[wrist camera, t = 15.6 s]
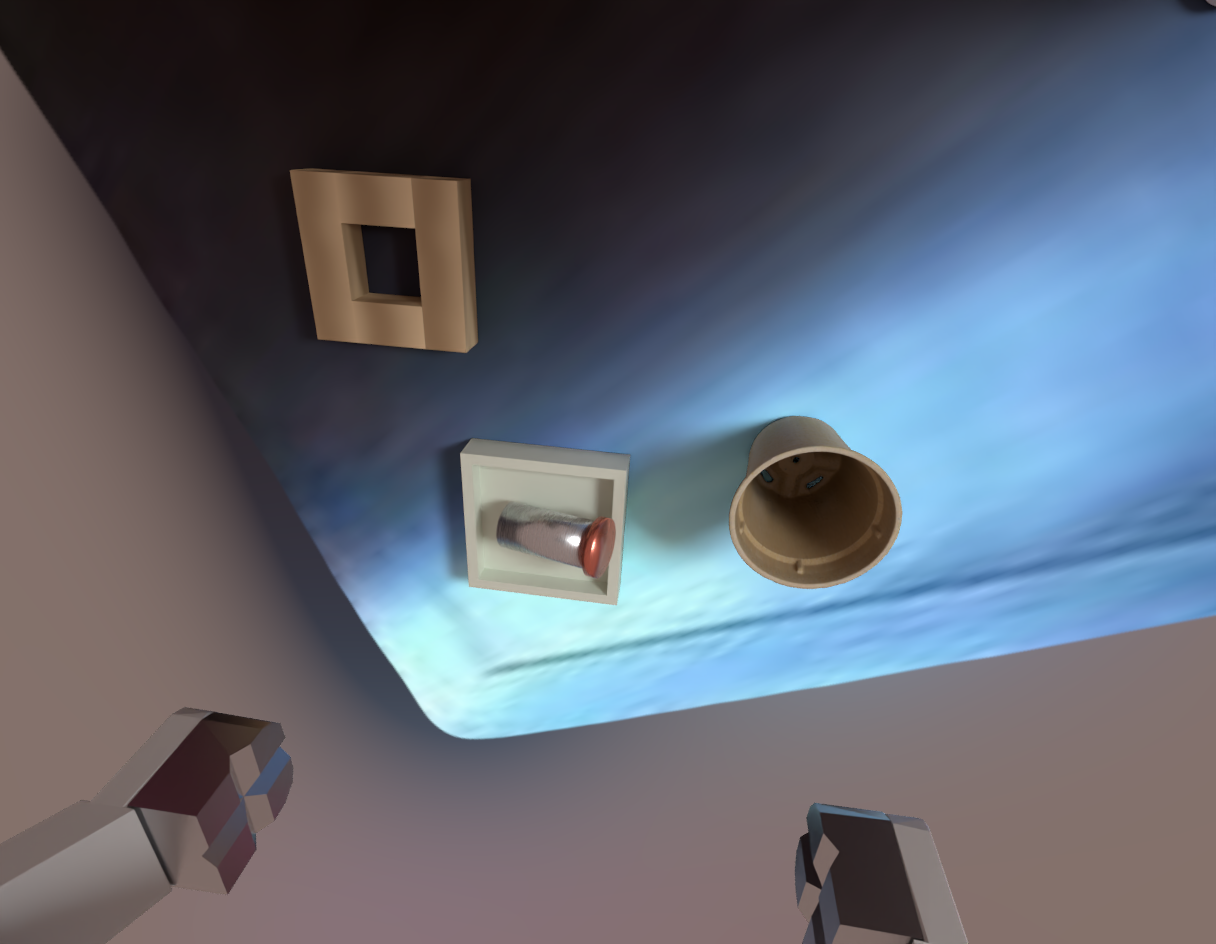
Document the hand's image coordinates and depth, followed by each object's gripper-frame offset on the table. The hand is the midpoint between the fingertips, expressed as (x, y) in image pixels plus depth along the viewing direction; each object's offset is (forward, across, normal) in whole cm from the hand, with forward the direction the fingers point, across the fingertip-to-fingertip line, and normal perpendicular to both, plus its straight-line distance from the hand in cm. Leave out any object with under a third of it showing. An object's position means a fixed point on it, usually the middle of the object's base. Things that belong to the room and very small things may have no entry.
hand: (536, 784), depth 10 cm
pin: (+32, +9, +16) cm, 37 cm away
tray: (+34, +7, +17) cm, 39 cm away
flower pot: (+34, -10, +10) cm, 37 cm away
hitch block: (+34, +17, -1) cm, 38 cm away
